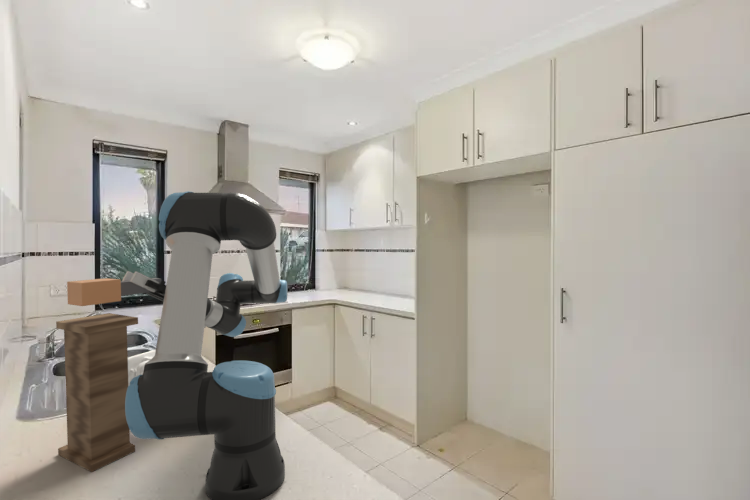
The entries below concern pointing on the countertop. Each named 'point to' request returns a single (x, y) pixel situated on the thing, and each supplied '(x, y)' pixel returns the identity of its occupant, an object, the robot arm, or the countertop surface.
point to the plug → (101, 291)
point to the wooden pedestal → (96, 389)
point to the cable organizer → (138, 364)
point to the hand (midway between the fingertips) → (129, 276)
